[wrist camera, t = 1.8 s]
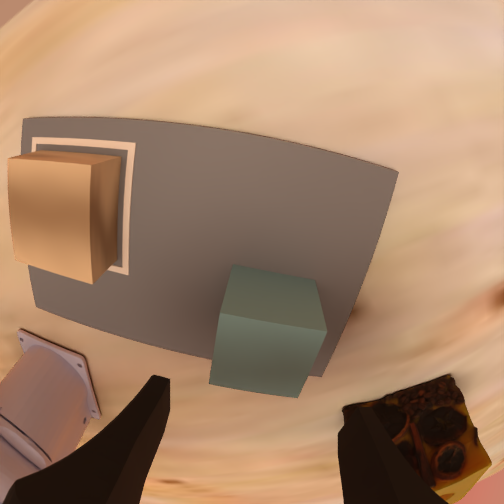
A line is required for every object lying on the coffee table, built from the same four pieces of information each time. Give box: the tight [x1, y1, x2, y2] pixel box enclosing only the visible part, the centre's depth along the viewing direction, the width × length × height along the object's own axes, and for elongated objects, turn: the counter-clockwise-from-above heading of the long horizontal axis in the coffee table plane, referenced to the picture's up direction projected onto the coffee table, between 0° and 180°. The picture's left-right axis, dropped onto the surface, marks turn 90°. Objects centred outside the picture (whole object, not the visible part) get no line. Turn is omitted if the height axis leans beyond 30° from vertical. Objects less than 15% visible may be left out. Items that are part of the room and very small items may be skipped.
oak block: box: [8, 150, 121, 284], centre depth 14 cm, size 6×6×3 cm
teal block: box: [209, 264, 327, 398], centre depth 15 cm, size 4×4×4 cm
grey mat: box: [21, 117, 399, 377], centre depth 16 cm, size 14×22×1 cm, turn 79°
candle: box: [342, 375, 492, 504], centre depth 18 cm, size 10×10×10 cm
